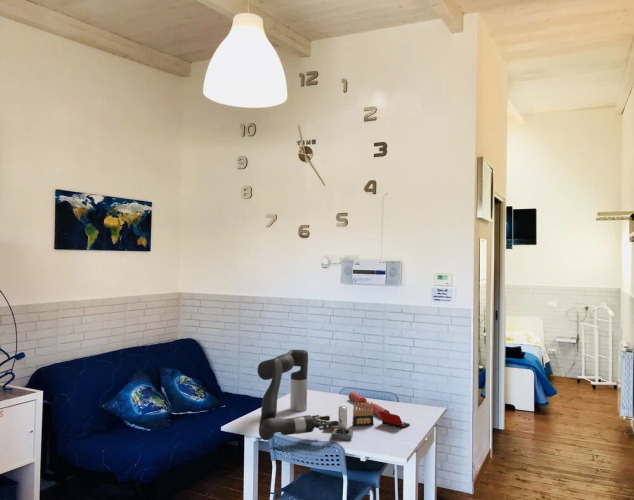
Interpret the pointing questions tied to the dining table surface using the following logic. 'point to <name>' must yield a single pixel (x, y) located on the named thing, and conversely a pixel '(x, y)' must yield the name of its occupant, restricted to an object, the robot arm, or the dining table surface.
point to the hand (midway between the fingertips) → (333, 420)
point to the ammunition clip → (363, 415)
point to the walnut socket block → (331, 429)
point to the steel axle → (342, 420)
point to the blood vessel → (358, 398)
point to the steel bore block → (342, 435)
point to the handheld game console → (392, 420)
